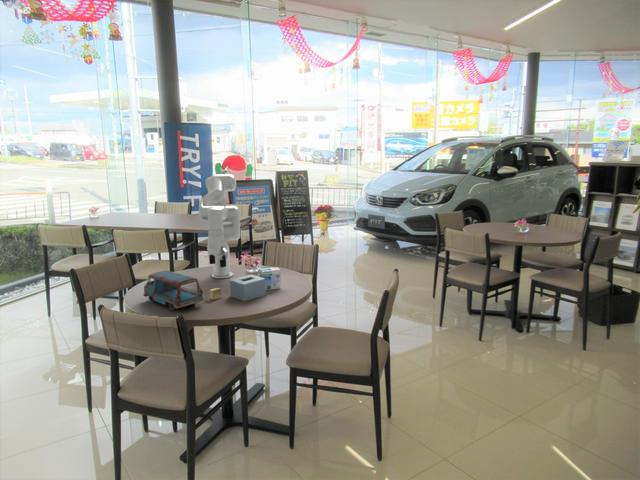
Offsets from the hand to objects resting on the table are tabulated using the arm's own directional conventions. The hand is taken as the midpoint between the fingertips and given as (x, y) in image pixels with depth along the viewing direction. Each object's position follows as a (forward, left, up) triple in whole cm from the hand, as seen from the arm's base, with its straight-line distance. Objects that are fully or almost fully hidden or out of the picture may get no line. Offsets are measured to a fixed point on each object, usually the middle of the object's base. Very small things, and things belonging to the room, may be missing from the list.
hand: (217, 265), depth 232 cm
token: (-1, -2, -18) cm, 18 cm away
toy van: (-10, -21, -18) cm, 29 cm away
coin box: (+8, +12, -17) cm, 23 cm away
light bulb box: (+6, +29, -18) cm, 35 cm away
